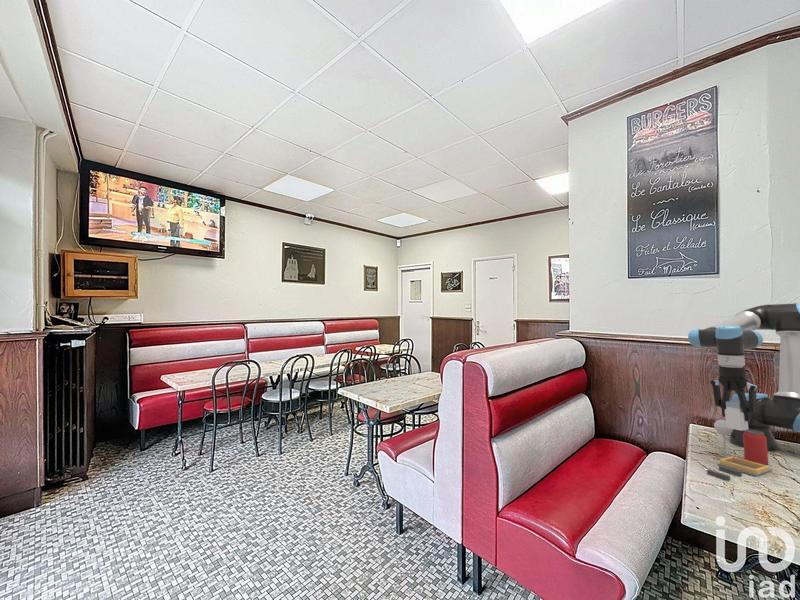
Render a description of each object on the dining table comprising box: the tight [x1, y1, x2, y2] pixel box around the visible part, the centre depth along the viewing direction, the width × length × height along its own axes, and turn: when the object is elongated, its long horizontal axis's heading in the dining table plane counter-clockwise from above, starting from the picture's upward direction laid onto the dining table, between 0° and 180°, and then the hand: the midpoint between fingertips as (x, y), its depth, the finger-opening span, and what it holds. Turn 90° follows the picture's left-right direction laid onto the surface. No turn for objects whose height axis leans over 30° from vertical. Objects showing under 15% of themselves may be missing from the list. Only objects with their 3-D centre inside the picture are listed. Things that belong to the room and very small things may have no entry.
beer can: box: [743, 429, 769, 466], centre depth 137 cm, size 7×7×12 cm
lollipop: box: [713, 419, 733, 458], centre depth 142 cm, size 6×6×15 cm
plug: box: [726, 399, 743, 431], centre depth 131 cm, size 4×4×10 cm
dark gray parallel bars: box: [706, 466, 743, 482], centre depth 125 cm, size 10×6×2 cm, turn 113°
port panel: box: [717, 455, 772, 478], centre depth 131 cm, size 12×11×2 cm
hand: (737, 427), depth 130 cm, fingers closed on plug, 4 cm apart
